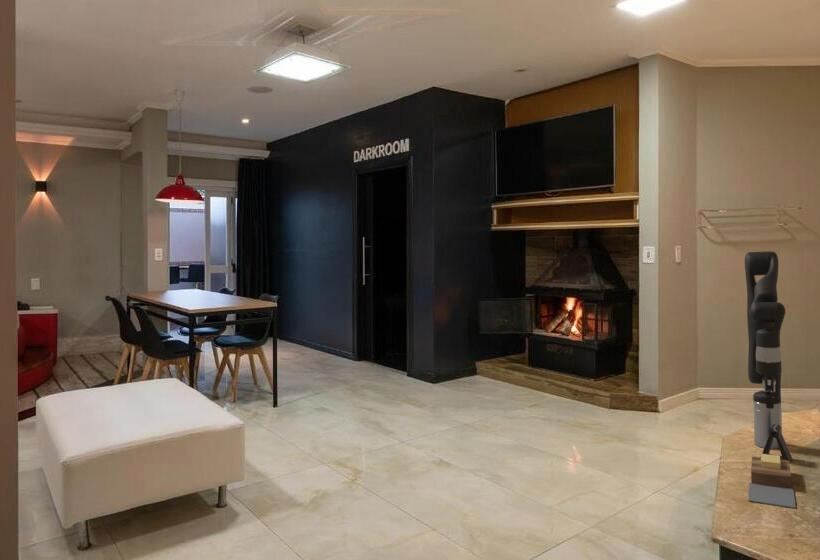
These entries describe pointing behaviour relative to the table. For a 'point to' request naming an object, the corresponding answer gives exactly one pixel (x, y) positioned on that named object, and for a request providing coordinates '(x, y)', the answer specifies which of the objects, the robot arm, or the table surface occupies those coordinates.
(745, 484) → the table surface
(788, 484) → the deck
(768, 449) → the phone stand
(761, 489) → the mat
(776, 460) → the yellow block
